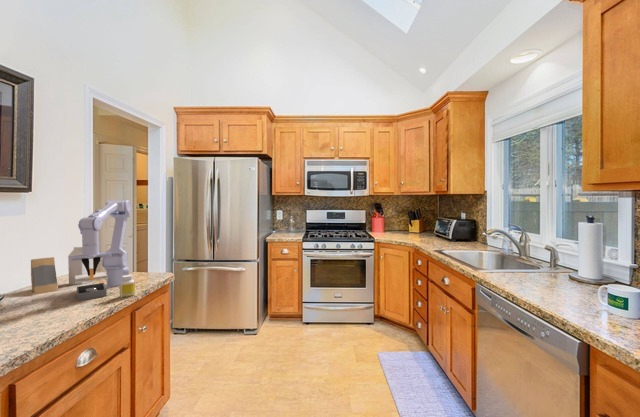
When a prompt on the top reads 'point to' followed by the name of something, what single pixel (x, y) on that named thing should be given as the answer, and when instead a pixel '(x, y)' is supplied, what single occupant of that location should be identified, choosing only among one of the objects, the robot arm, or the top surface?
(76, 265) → the milk carton
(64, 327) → the top surface
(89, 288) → the domed metal puck
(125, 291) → the supplement bottle
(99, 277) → the lid
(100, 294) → the tub
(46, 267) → the sandwich container
